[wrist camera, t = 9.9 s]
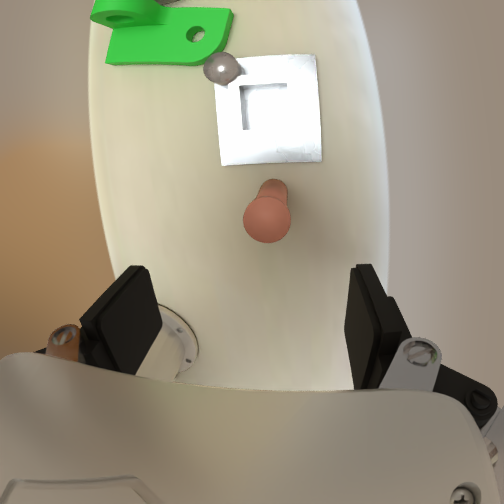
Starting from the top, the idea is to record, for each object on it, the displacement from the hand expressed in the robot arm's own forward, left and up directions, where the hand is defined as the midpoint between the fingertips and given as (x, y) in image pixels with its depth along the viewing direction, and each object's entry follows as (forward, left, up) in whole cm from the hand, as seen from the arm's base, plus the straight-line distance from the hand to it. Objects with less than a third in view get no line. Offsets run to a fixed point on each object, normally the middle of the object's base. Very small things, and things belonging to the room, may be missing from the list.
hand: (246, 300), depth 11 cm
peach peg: (0, 0, -18) cm, 18 cm away
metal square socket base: (+8, 0, -18) cm, 20 cm away
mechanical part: (+17, +9, -18) cm, 27 cm away
